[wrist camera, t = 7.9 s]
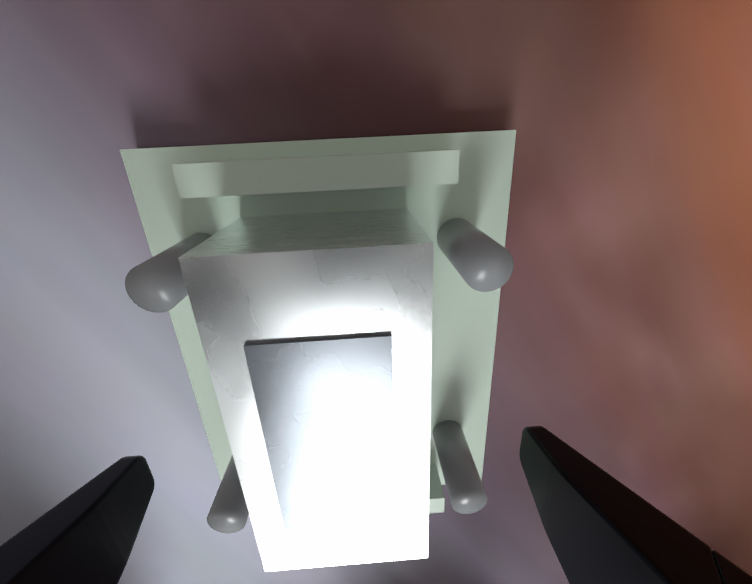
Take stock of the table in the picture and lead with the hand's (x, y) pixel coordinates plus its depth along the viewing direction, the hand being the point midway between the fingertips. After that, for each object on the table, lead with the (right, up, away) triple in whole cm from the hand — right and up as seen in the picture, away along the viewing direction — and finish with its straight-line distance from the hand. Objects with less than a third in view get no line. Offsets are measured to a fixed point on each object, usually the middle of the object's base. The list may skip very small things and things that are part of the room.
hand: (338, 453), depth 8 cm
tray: (0, +2, +5) cm, 5 cm away
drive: (0, +2, +4) cm, 5 cm away
